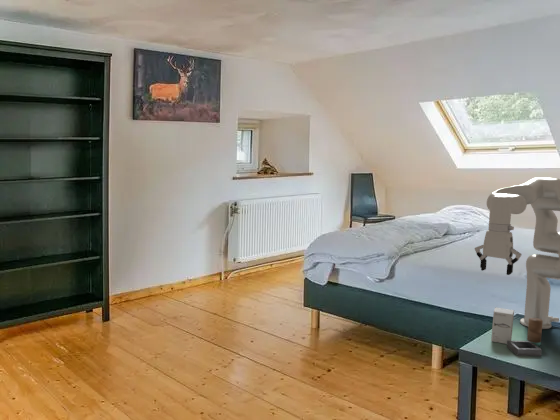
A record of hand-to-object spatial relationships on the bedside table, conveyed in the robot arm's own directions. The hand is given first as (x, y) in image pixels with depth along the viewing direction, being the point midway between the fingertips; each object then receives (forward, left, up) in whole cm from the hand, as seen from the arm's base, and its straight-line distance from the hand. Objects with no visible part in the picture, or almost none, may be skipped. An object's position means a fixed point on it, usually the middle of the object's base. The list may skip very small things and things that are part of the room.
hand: (496, 272), depth 204 cm
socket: (-11, +3, -30) cm, 32 cm away
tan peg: (-19, -5, -30) cm, 36 cm away
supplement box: (-8, -8, -30) cm, 32 cm away
